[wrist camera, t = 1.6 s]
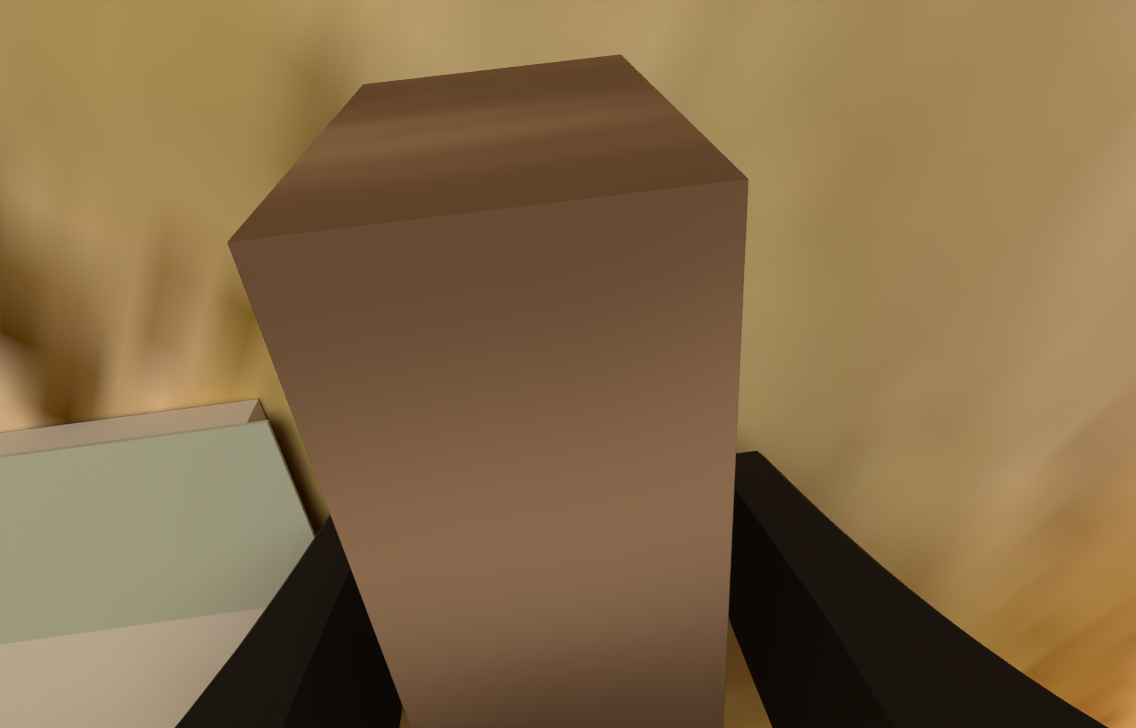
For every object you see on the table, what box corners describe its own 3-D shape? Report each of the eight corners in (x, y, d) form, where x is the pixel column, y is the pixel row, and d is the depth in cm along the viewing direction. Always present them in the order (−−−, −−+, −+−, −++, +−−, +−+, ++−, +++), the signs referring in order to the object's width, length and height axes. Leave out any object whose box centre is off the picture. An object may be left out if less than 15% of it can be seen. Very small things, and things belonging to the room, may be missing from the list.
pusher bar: (649, 667, 15) (712, 967, 10) (507, 688, 15) (513, 996, 10) (618, 52, 8) (748, 178, 4) (365, 81, 8) (227, 242, 4)
